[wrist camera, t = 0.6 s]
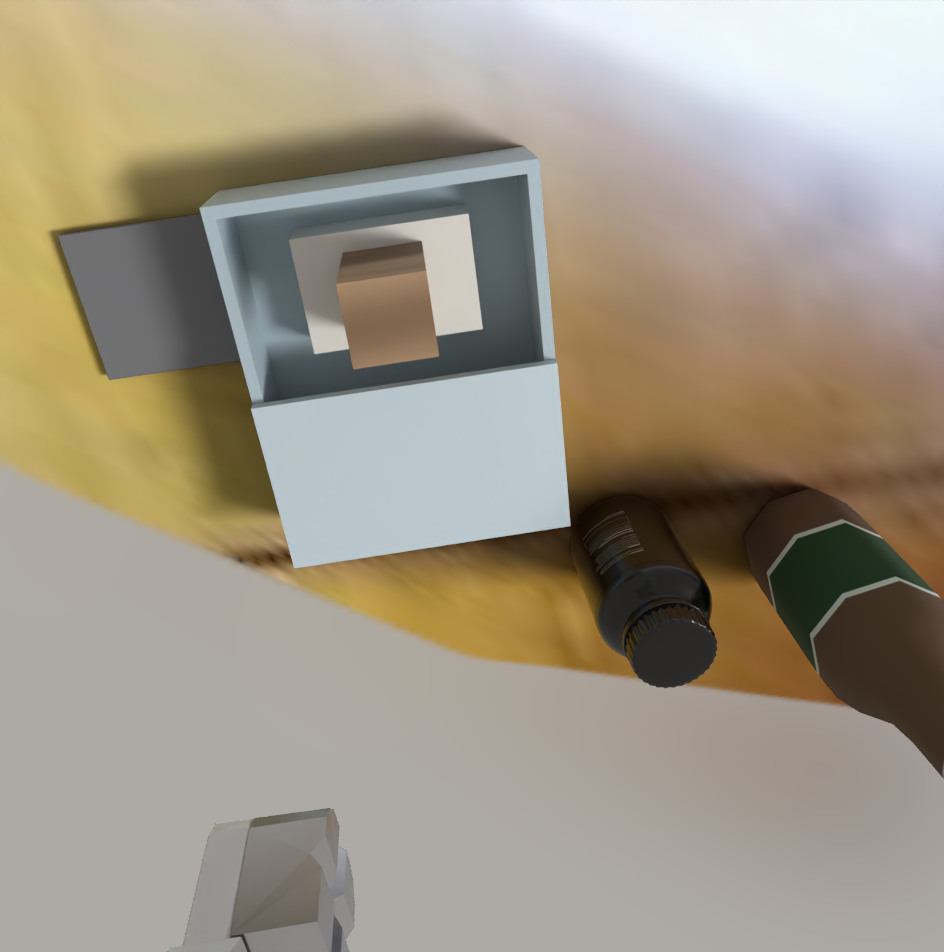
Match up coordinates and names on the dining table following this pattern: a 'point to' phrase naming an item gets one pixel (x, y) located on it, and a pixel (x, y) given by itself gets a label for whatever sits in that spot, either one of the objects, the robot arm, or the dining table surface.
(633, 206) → the dining table surface
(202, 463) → the dining table surface
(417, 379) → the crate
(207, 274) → the pad
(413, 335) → the walnut block
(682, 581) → the supplement bottle
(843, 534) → the beer bottle
